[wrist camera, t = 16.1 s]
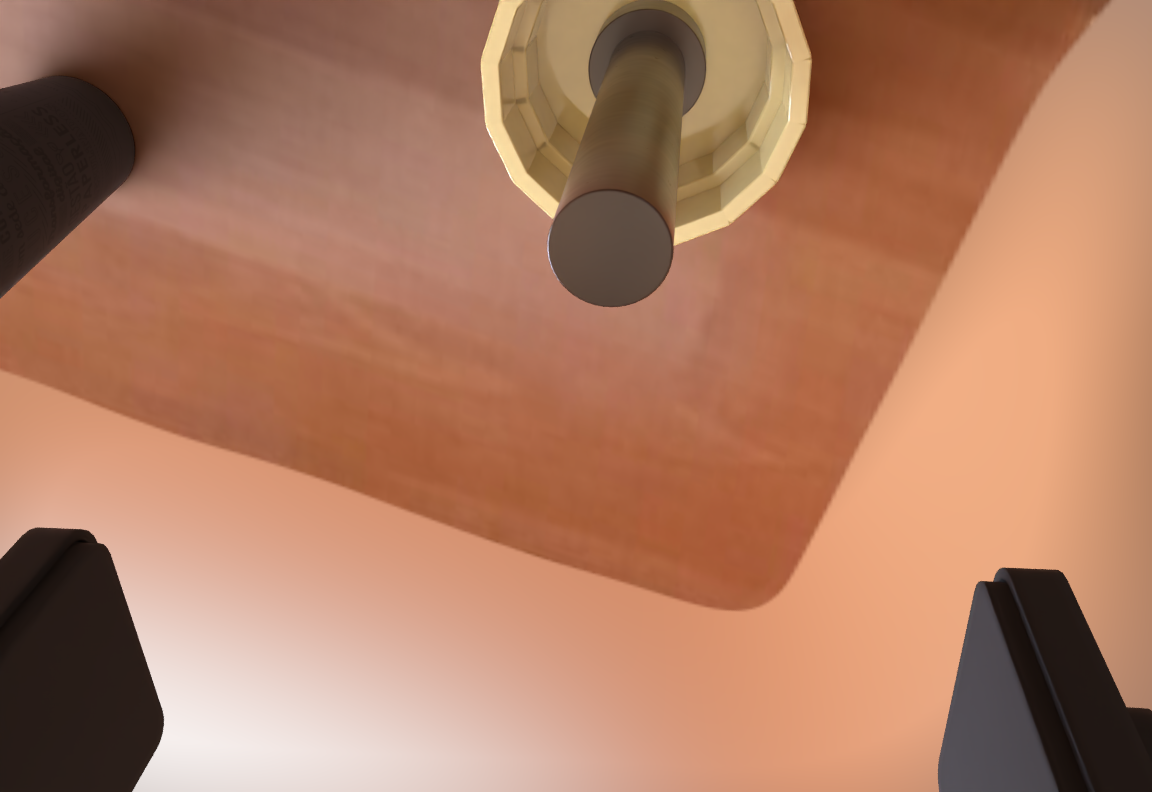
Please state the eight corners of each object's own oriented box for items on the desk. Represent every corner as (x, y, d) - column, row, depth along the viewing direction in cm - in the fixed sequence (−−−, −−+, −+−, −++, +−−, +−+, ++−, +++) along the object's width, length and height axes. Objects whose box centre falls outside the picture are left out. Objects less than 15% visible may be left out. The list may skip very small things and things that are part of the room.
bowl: (806, -109, 34) (824, -92, 29) (784, 188, 39) (797, 247, 34) (503, -100, 35) (468, -82, 30) (520, 187, 40) (494, 245, 35)
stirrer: (708, -3, 35) (711, 154, 20) (704, 114, 37) (705, 339, 22) (592, -1, 36) (507, 154, 20) (595, 114, 38) (519, 335, 22)
